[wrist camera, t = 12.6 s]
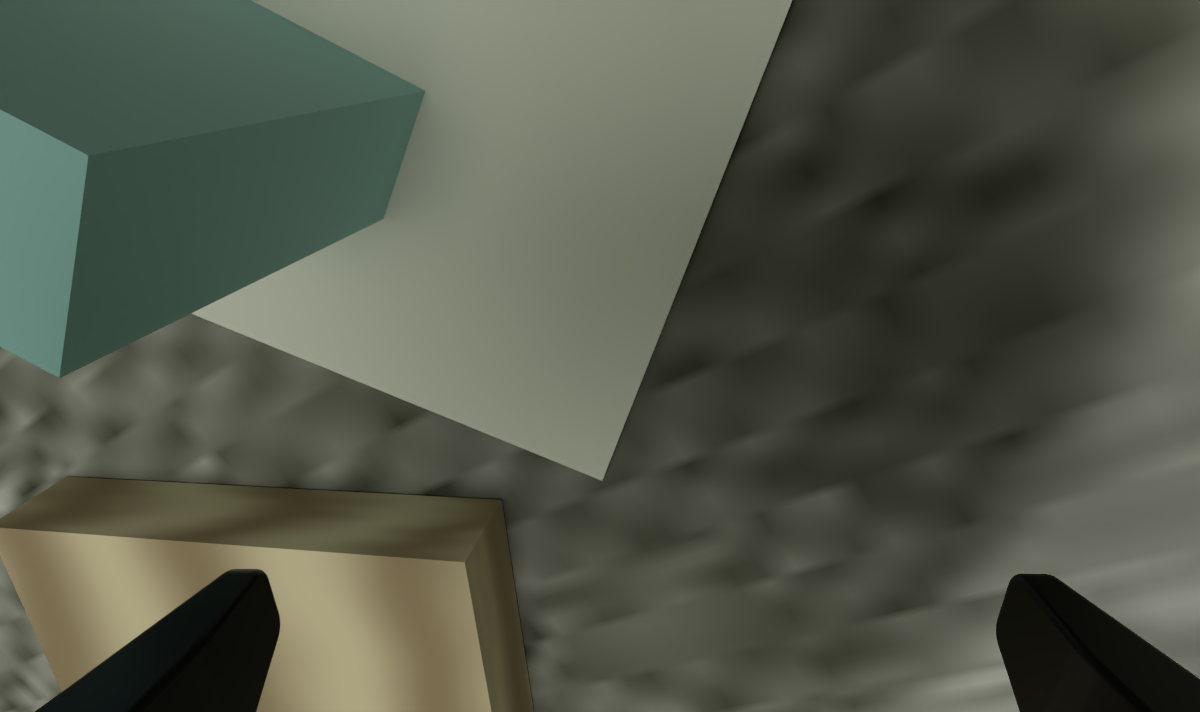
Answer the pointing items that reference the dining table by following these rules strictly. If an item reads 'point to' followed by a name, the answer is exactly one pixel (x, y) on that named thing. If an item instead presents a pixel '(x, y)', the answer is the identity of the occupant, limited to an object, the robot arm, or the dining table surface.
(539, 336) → the mat
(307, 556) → the plate
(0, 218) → the tall teal block
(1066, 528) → the dining table surface
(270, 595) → the robot arm
